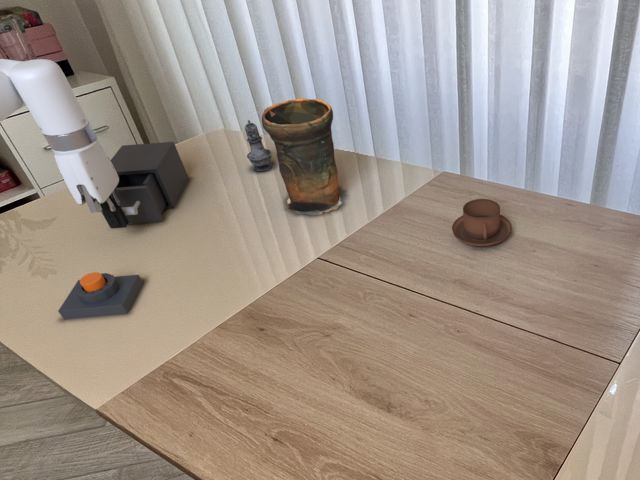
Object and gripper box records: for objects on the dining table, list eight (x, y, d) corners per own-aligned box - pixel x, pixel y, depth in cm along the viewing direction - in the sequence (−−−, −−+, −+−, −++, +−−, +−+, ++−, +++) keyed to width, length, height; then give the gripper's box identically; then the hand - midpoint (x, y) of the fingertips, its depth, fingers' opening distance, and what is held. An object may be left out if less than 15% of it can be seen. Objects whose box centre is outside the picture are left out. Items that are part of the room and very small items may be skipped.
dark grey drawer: (155, 232, 115) (139, 198, 110) (105, 236, 115) (85, 202, 109) (177, 192, 127) (163, 160, 121) (131, 196, 126) (114, 164, 121)
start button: (81, 293, 97) (76, 285, 95) (89, 280, 99) (84, 273, 98) (102, 291, 97) (97, 283, 96) (109, 279, 99) (104, 271, 98)
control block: (64, 320, 97) (51, 303, 94) (84, 288, 103) (72, 271, 101) (128, 314, 98) (117, 297, 95) (144, 283, 104) (134, 266, 101)
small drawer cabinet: (174, 209, 123) (156, 168, 117) (121, 213, 123) (100, 173, 116) (189, 180, 133) (173, 141, 126) (140, 183, 132) (121, 145, 126)
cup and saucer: (522, 241, 110) (523, 214, 105) (468, 258, 106) (467, 231, 102) (494, 213, 117) (494, 187, 113) (443, 228, 114) (441, 201, 110)
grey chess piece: (246, 172, 135) (230, 124, 126) (258, 161, 139) (243, 114, 130) (268, 174, 134) (253, 125, 125) (279, 163, 138) (265, 115, 129)
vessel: (357, 185, 128) (340, 97, 114) (338, 218, 118) (318, 125, 104) (299, 183, 130) (275, 95, 116) (275, 214, 120) (247, 123, 106)
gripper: (67, 122, 103) (114, 208, 116) (30, 157, 93) (87, 248, 106) (107, 119, 104) (150, 205, 117) (76, 154, 93) (126, 245, 106)
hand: (120, 225), depth 111 cm, fingers closed
